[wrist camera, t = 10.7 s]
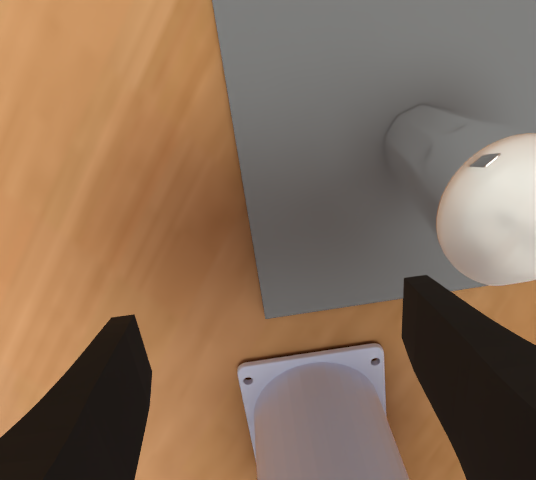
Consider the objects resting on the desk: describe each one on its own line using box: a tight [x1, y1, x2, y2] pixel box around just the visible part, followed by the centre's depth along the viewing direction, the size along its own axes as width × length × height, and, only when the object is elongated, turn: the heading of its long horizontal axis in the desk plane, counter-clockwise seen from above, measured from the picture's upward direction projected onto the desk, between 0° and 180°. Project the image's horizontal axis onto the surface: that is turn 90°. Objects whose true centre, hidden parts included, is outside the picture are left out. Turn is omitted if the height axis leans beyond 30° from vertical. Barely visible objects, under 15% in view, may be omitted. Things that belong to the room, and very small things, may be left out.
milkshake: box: [384, 104, 536, 286], centre depth 16 cm, size 5×5×10 cm
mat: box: [212, 0, 536, 319], centre depth 21 cm, size 16×16×1 cm
